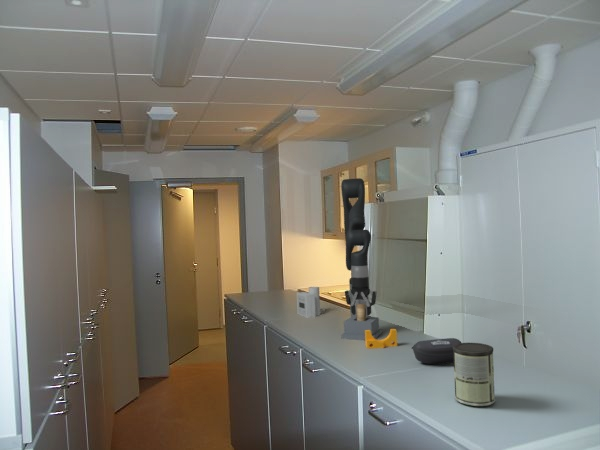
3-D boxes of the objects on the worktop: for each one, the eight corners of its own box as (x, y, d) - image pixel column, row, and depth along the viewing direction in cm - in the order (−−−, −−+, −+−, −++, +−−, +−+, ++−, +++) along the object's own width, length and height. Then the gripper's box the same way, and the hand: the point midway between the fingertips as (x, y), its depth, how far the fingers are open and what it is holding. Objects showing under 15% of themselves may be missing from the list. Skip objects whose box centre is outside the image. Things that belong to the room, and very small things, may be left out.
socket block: (351, 330, 218) (351, 315, 218) (382, 332, 213) (381, 316, 213) (341, 338, 205) (340, 321, 205) (373, 340, 199) (372, 323, 199)
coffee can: (449, 393, 135) (447, 343, 135) (485, 391, 135) (483, 341, 135) (462, 407, 125) (460, 352, 125) (502, 405, 125) (500, 351, 125)
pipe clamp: (367, 349, 187) (366, 332, 187) (365, 346, 191) (364, 330, 191) (398, 347, 187) (397, 331, 187) (395, 345, 191) (395, 328, 191)
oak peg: (359, 330, 211) (357, 303, 211) (367, 331, 210) (366, 303, 210) (356, 332, 208) (355, 304, 208) (365, 333, 206) (364, 305, 206)
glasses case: (421, 369, 159) (420, 345, 159) (407, 360, 169) (406, 338, 169) (470, 363, 163) (469, 340, 163) (453, 355, 173) (452, 333, 173)
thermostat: (297, 315, 262) (296, 287, 262) (320, 312, 268) (319, 285, 268) (307, 318, 251) (306, 289, 251) (331, 315, 257) (330, 287, 257)
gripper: (378, 275, 209) (379, 313, 209) (346, 274, 215) (348, 312, 215) (373, 277, 202) (375, 317, 202) (341, 276, 208) (342, 315, 208)
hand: (361, 314), depth 209 cm, fingers open, 6 cm apart
